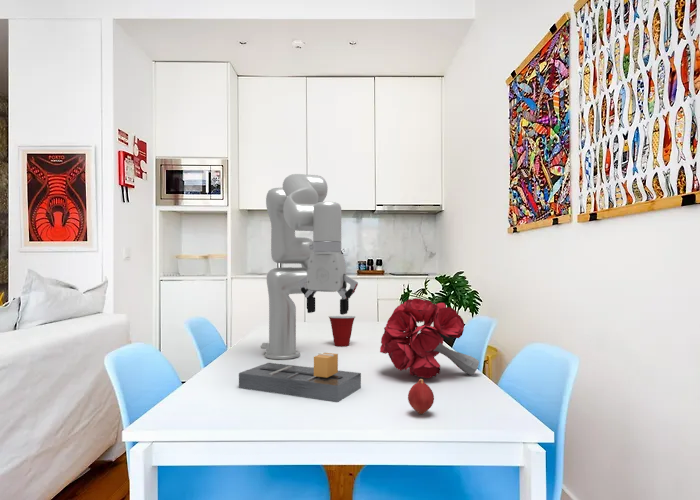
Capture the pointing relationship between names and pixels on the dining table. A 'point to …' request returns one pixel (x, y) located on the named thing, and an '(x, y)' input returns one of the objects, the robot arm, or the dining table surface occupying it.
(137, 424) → the dining table surface
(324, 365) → the fader knob
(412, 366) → the bouquet
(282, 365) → the block
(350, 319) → the plastic cup
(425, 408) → the onion
